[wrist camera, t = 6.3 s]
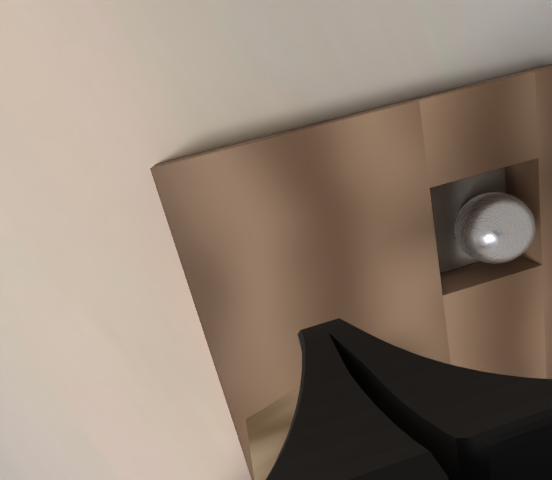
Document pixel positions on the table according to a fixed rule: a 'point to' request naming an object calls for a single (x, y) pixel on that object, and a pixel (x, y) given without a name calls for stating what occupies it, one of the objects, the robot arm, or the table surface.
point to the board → (365, 238)
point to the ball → (495, 227)
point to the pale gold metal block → (270, 433)
